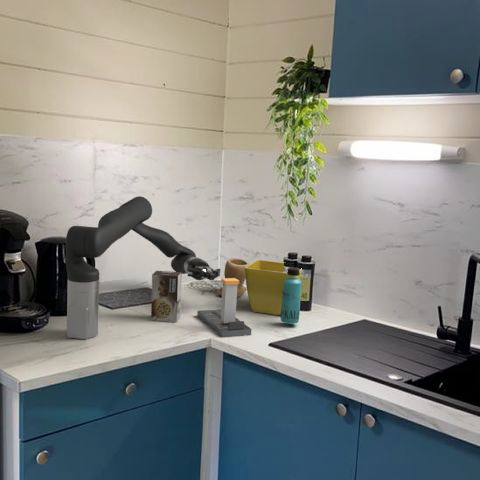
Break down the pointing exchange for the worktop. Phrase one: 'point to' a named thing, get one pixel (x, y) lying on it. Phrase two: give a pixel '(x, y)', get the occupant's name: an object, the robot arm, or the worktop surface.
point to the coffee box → (166, 296)
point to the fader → (229, 299)
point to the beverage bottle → (291, 297)
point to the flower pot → (266, 285)
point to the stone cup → (235, 273)
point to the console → (223, 324)
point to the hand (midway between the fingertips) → (212, 277)
